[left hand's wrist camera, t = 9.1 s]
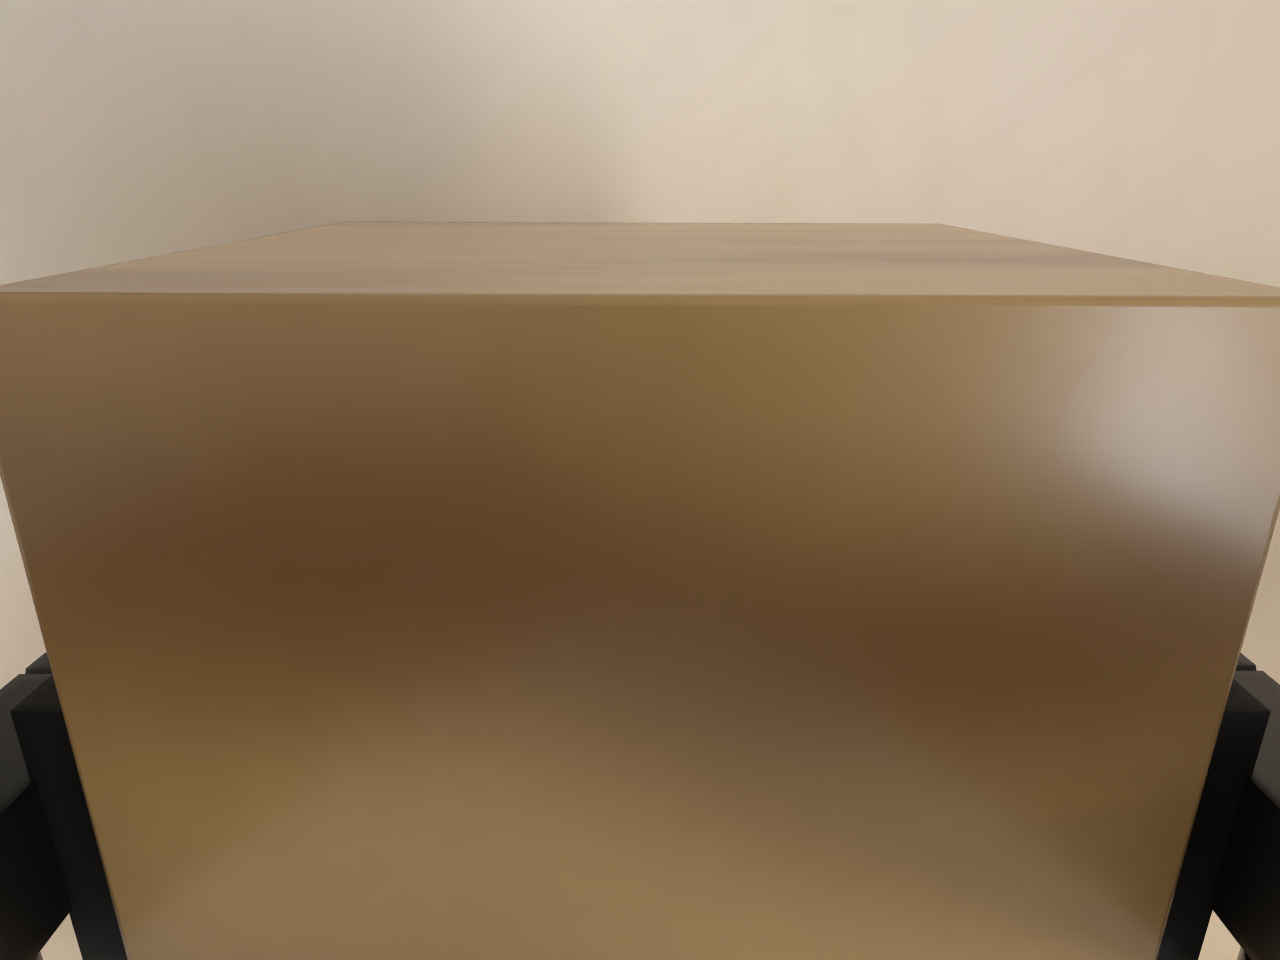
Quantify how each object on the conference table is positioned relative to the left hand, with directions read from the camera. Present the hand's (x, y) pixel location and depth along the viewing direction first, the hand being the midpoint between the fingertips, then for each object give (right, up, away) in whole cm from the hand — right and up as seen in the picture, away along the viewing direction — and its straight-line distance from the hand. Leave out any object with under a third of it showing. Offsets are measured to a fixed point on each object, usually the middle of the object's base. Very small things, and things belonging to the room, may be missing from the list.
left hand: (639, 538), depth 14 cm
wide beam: (0, -31, +12) cm, 33 cm away
